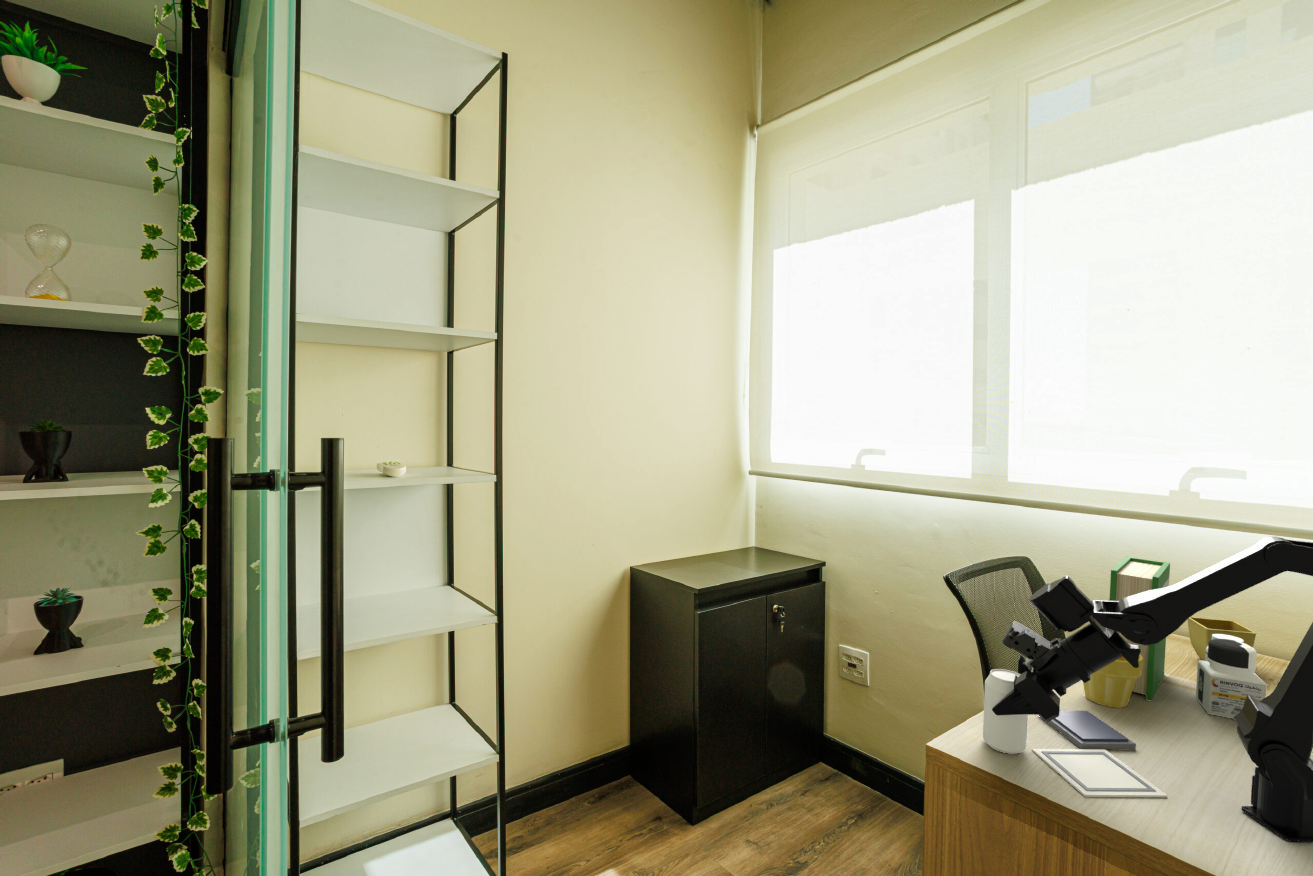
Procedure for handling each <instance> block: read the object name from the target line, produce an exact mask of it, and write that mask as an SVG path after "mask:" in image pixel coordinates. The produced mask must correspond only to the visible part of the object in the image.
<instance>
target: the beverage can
mask: <svg viewBox="0 0 1313 876" xmlns="http://www.w3.org/2000/svg"><path fill="white" fill-rule="evenodd" d="M1016 672H1017V671H1013V670H1009V669H1005V668H994V669H993V668H992V669H991V670H990V671H989V674H988V676H987V678H986V679H985V680H984V694H983V695H984V698H983V719H982V720H983V721H982V722H983V725H982V739H983V741H984V742H985V744H987V745H988V746H990V747H991V749H993V750H994V749H995V750H994V751H996V750H997V752H999V751H1000V752H999V753H1001V752H1003V753H1002V754H1005V753H1008V754H1007V755H1018V753H1023V752H1024V751H1025V750H1027V749H1026V748H1027V740H1028V738H1027V737H1028V719H1029V718H1028V716H1029V715H996V714H995V713H994V712H993V711H992V708H993V707H994V706H995V705H996V704H997V703H999V702H1000V701H1001V700H1002V699H1003V698H1004V697H1005V696H1006V695H1007V694H1008V693H1009V692H1011V691H1012V690H1013V689H1014V678H1015V675H1016V676H1017V677H1019V676H1020V675H1021V674H1019V673H1016Z"/></svg>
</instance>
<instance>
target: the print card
mask: <svg viewBox="0 0 1313 876" xmlns="http://www.w3.org/2000/svg"><path fill="white" fill-rule="evenodd" d="M1031 751H1032V752H1033V753H1034V754H1035V753H1036V754H1037V757H1039V758H1040V759H1041V761H1043V762H1044V763H1046V764H1047V765H1048V766H1049V767H1050V768H1051V769H1052V770H1053V771H1054V772H1056V773H1057V774H1058V773H1059V774H1060V775H1061V776H1060V775H1059V774H1058V775H1059V776H1060V777H1061V778H1063V779H1064V780H1065V781H1066V782H1067V783H1068V782H1069V783H1068V784H1069V785H1071V786H1072V787H1073V788H1074V789H1075V790H1076V791H1078V792H1079V793H1080V794H1081V796H1083V797H1085V798H1168V794H1166V793H1165V792H1164V791H1163V790H1161V789H1159V787H1156V785H1154V784H1153V783H1151V781H1149V780H1148V779H1146V778H1145V777H1143V776H1142V775H1140V773H1138V772H1137V771H1135V770H1134V769H1132V767H1130V766H1128V765H1127V764H1125V763H1124V762H1123V761H1121V760H1120V759H1119V758H1117V757H1116V756H1115V755H1113V754H1112V753H1111V752H1109V751H1108V750H1106V749H1080V748H1032V749H1031ZM1036 754H1035V755H1036Z"/></svg>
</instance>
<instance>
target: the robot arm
mask: <svg viewBox="0 0 1313 876" xmlns="http://www.w3.org/2000/svg"><path fill="white" fill-rule="evenodd" d="M1286 572H1289V573H1290V572H1291V573H1297V574H1301V575H1305V576H1306V575H1307V576H1309V577H1313V542H1311V541H1302V540H1301V541H1300V540H1293V539H1292V540H1291V539H1286V538H1283V537H1280V536H1267V537H1265V538H1264V537H1263V538H1262V539H1260V540H1259V541H1258V542H1256V543H1255V544H1254V545H1252V546H1250V547H1248V548H1245V549H1243V550H1242V551H1240V552H1237V553H1236V554H1233V555H1232V556H1229V557H1227V558H1225V559H1223V560H1221V561H1219V562H1217V563H1216V564H1213V565H1211V566H1209V567H1207V568H1205V569H1203V570H1201V571H1198V572H1197V573H1195V574H1193V575H1190V576H1189V577H1187V578H1185V579H1183V580H1181V581H1179V582H1176V583H1174V584H1172V585H1169V586H1168V587H1165V588H1160V589H1154V590H1148V591H1145V592H1141V593H1138V594H1135V595H1132V596H1128V597H1125V598H1123V599H1122V600H1120V601H1109V600H1102V599H1101V600H1100V599H1099V600H1098V599H1093V600H1091V599H1090V598H1088V596H1086V594H1085V593H1084V592H1083V591H1082V590H1081V589H1080V588H1079V587H1078V586H1077V585H1076V583H1075V582H1074V580H1073V579H1072V578H1071V577H1070V576H1069V575H1064V576H1063V577H1062V578H1059V579H1057V580H1054V581H1052V582H1051V583H1046V584H1045V585H1044V586H1041V587H1040V588H1039V589H1038V590H1037V591H1035V592H1034V593H1033V594H1031V596H1030V597H1029V598H1028V601H1029V602H1030V603H1031V604H1032V605H1033V606H1034V607H1035V608H1036V610H1037V611H1038V612H1040V614H1041V615H1043V617H1044V618H1045V619H1046V620H1047V621H1048V622H1049V623H1050V624H1051V626H1053V627H1054V628H1055V630H1057V631H1060V630H1061V631H1063V632H1064V633H1066V632H1067V633H1071V632H1073V633H1072V634H1070V635H1069V636H1067V637H1065V638H1064V639H1063V638H1061V637H1059V638H1057V637H1055V638H1053V639H1052V640H1048V639H1047V638H1045V637H1043V636H1042V635H1041V634H1039V633H1037V632H1036V631H1034V630H1032V629H1031V628H1029V627H1027V626H1025V625H1024V624H1022V623H1020V622H1018V621H1016V620H1014V621H1012V623H1011V625H1010V626H1009V628H1008V629H1007V631H1006V632H1005V633H1004V635H1003V639H1002V644H1003V645H1004V646H1006V647H1007V648H1008V649H1012V650H1013V651H1016V652H1018V653H1019V657H1018V661H1017V663H1018V664H1017V670H1016V671H1015V672H1016V673H1019V674H1021V675H1020V676H1019V677H1017V676H1016V675H1015V678H1014V689H1013V690H1012V691H1011V692H1009V693H1008V694H1007V695H1006V696H1005V697H1004V698H1003V699H1002V700H1001V701H1000V702H999V703H997V704H996V705H995V706H994V707H993V708H992V711H993V712H994V713H995V714H996V715H1028V716H1029V715H1031V716H1032V715H1033V716H1035V715H1037V716H1038V715H1041V716H1042V717H1043V718H1044V720H1046V721H1047V722H1049V721H1051V720H1053V719H1055V718H1056V717H1058V716H1059V710H1060V708H1061V707H1060V705H1061V697H1063V696H1064V695H1067V689H1068V688H1070V687H1072V686H1074V685H1075V684H1077V683H1079V682H1081V681H1082V683H1083V682H1084V683H1086V682H1088V681H1089V680H1091V679H1090V675H1091V674H1093V673H1095V672H1096V671H1098V670H1100V669H1102V668H1103V667H1105V666H1107V665H1109V664H1110V663H1112V662H1114V661H1116V660H1117V659H1119V658H1121V657H1124V658H1125V659H1126V660H1127V661H1128V662H1129V663H1130V664H1131V665H1132V666H1133V667H1134V668H1138V667H1139V655H1140V652H1141V649H1140V646H1139V645H1133V644H1129V643H1128V642H1127V641H1126V640H1125V639H1124V638H1123V637H1122V636H1121V635H1120V634H1119V633H1118V632H1120V633H1121V634H1122V635H1123V636H1124V637H1125V638H1126V639H1128V640H1130V641H1132V642H1134V643H1137V644H1141V645H1153V644H1156V643H1158V642H1160V641H1161V640H1163V639H1164V638H1166V639H1167V637H1168V636H1170V635H1172V633H1174V632H1175V631H1177V630H1178V629H1180V627H1181V626H1182V625H1184V623H1186V622H1187V621H1188V620H1187V619H1188V618H1190V617H1193V616H1194V615H1195V614H1196V613H1198V612H1201V611H1202V610H1205V609H1207V608H1209V607H1212V606H1213V605H1215V604H1218V603H1220V602H1222V601H1224V600H1226V599H1228V598H1230V597H1232V596H1235V595H1238V594H1239V593H1241V592H1243V591H1245V590H1248V589H1250V588H1253V587H1255V586H1257V585H1258V584H1261V583H1264V582H1265V581H1267V580H1269V579H1271V578H1274V577H1276V576H1279V575H1280V574H1282V573H1286ZM1088 622H1089V623H1088ZM1087 623H1088V624H1087ZM1085 624H1086V625H1085ZM1084 625H1085V626H1084ZM1082 626H1083V627H1082ZM1081 627H1082V628H1081ZM1079 628H1080V629H1079ZM1298 645H1299V646H1298V647H1297V649H1296V651H1295V652H1294V654H1293V657H1292V658H1291V659H1290V661H1289V663H1288V664H1287V667H1286V669H1285V670H1284V671H1283V674H1282V676H1281V677H1280V679H1279V681H1278V683H1277V684H1276V686H1275V687H1274V689H1273V691H1272V692H1271V693H1270V694H1269V695H1267V696H1265V698H1264V699H1262V700H1261V701H1258V700H1256V699H1255V698H1253V697H1251V696H1249V695H1247V697H1246V699H1245V702H1244V706H1243V709H1242V710H1241V712H1240V713H1239V714H1237V715H1236V716H1234V719H1233V720H1234V721H1235V722H1236V725H1237V726H1236V733H1237V736H1238V737H1239V739H1240V742H1241V743H1242V746H1243V748H1244V749H1245V751H1246V753H1247V755H1248V757H1249V758H1250V760H1251V762H1252V763H1253V764H1254V765H1256V766H1255V767H1254V775H1252V777H1251V789H1250V791H1251V793H1250V805H1242V806H1241V808H1240V809H1241V811H1242V812H1243V813H1245V814H1246V815H1248V816H1249V817H1251V818H1252V819H1254V820H1255V821H1257V822H1258V823H1259V824H1262V825H1263V826H1264V827H1266V828H1267V829H1269V830H1270V831H1272V832H1274V833H1275V834H1276V835H1278V836H1279V837H1281V838H1282V839H1284V840H1286V841H1288V842H1301V843H1303V842H1308V843H1310V842H1313V760H1312V758H1311V755H1312V750H1313V621H1312V622H1311V624H1310V625H1309V628H1308V629H1307V631H1306V633H1305V634H1304V636H1303V638H1302V640H1301V642H1300V644H1298ZM1023 656H1024V657H1026V658H1024V657H1023ZM1044 720H1043V721H1044ZM1047 722H1046V723H1047Z"/></svg>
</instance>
